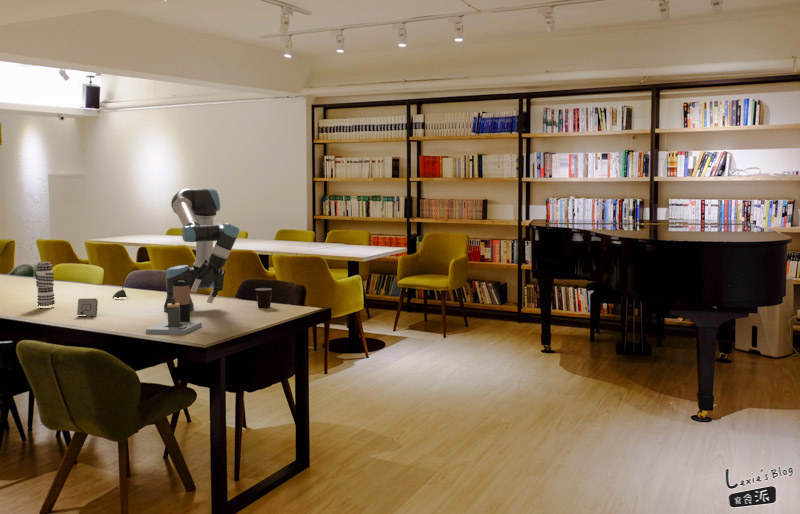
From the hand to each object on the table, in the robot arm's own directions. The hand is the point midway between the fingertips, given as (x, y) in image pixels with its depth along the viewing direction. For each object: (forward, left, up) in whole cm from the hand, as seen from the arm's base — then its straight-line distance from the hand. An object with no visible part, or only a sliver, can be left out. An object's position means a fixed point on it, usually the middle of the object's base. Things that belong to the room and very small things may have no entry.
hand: (200, 297), depth 329 cm
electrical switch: (-69, +19, -14) cm, 73 cm away
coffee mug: (+13, +53, -14) cm, 56 cm away
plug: (-8, -11, -13) cm, 19 cm away
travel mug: (-14, +10, -14) cm, 22 cm away
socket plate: (-8, -11, -13) cm, 19 cm away
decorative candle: (-107, +41, -14) cm, 116 cm away
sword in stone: (-84, +76, -14) cm, 115 cm away
